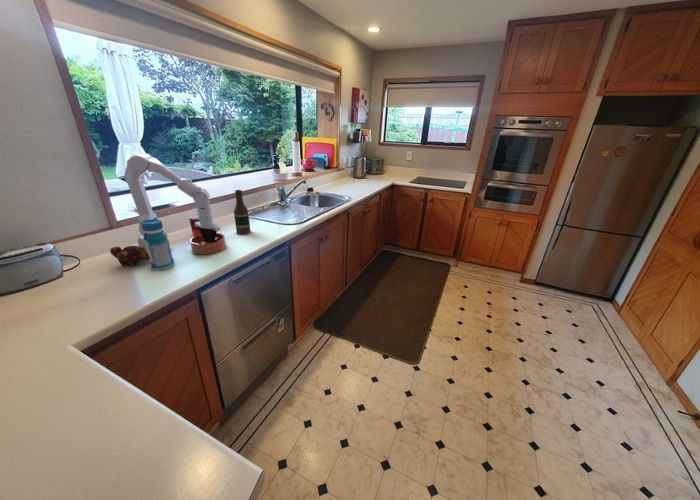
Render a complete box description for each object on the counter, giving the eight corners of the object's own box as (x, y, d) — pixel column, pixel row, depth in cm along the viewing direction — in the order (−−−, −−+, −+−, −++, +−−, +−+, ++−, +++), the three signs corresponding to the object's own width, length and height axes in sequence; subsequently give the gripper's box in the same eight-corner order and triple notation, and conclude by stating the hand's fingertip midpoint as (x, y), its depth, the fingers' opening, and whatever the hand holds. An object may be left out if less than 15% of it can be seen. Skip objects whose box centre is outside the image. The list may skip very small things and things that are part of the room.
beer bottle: (253, 230, 162) (248, 189, 153) (247, 235, 155) (242, 192, 145) (240, 229, 163) (234, 188, 153) (233, 234, 156) (227, 191, 146)
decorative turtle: (118, 259, 124) (114, 242, 121) (157, 259, 128) (155, 242, 125) (106, 269, 115) (102, 250, 112) (149, 268, 119) (146, 250, 116)
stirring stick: (204, 248, 134) (203, 244, 133) (201, 247, 135) (200, 243, 134) (220, 242, 141) (219, 238, 140) (216, 241, 142) (215, 237, 141)
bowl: (207, 257, 129) (205, 246, 126) (185, 251, 134) (182, 240, 132) (232, 246, 141) (231, 236, 139) (211, 240, 147) (209, 230, 144)
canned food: (204, 238, 149) (201, 218, 145) (190, 237, 149) (185, 218, 145) (211, 233, 156) (208, 214, 152) (197, 232, 156) (193, 213, 152)
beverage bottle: (163, 271, 115) (151, 225, 107) (146, 269, 117) (132, 223, 109) (179, 262, 123) (168, 219, 115) (162, 260, 124) (151, 217, 116)
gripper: (223, 216, 132) (227, 242, 138) (201, 211, 138) (206, 237, 143) (211, 220, 126) (216, 247, 132) (188, 215, 132) (194, 241, 137)
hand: (210, 242), depth 137 cm, fingers closed on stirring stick, 2 cm apart
